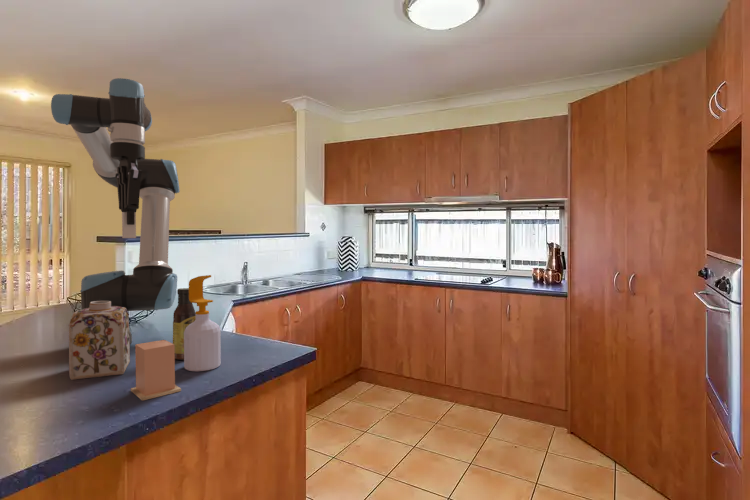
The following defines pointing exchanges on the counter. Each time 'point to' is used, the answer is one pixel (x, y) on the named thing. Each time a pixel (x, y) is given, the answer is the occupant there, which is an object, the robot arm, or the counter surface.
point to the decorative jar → (99, 341)
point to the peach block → (155, 367)
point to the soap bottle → (201, 333)
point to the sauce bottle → (182, 321)
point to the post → (154, 393)
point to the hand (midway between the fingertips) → (129, 237)
